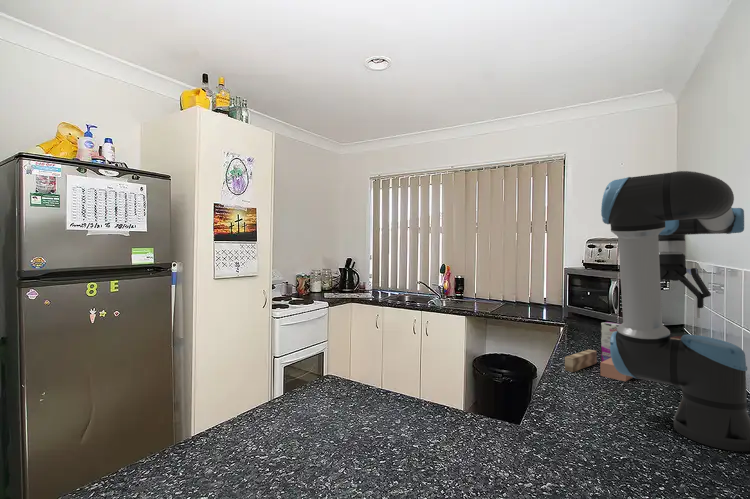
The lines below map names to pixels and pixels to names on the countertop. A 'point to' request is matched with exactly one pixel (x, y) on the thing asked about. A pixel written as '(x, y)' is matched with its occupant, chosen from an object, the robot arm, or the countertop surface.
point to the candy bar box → (607, 339)
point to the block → (611, 371)
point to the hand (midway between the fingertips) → (671, 315)
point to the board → (580, 360)
